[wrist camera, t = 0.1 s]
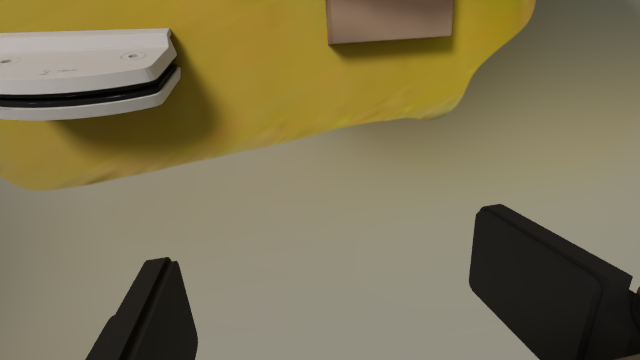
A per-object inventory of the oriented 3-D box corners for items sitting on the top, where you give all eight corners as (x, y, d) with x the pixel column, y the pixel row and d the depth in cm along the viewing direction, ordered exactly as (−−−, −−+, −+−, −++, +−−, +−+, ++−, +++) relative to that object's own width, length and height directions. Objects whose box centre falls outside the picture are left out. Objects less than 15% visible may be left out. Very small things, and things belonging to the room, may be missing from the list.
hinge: (173, 28, 34) (155, 60, 26) (184, 72, 37) (171, 113, 29) (-10, 33, 31) (-89, 71, 23) (19, 80, 34) (-44, 128, 26)
